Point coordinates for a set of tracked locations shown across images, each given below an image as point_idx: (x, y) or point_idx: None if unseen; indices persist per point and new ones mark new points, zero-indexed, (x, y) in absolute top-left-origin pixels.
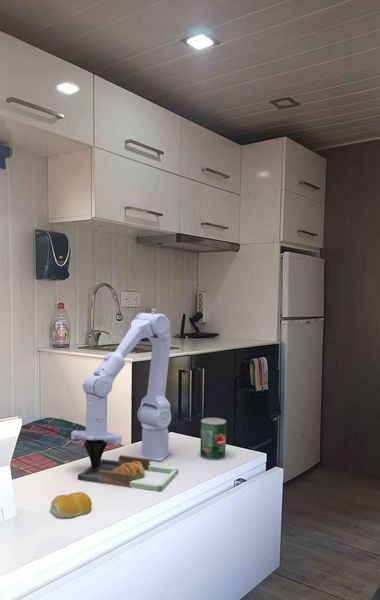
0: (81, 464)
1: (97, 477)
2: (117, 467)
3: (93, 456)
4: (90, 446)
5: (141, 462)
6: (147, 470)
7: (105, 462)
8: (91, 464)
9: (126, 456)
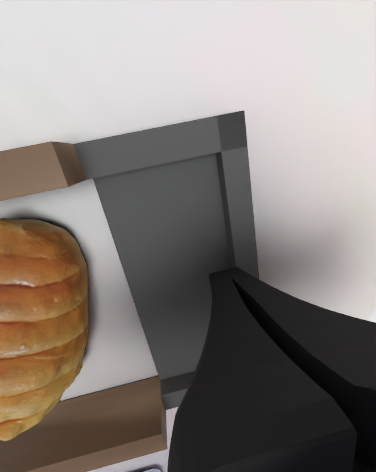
0: (335, 307)
1: (86, 150)
2: (157, 367)
3: (258, 317)
4: (347, 373)
5: (20, 451)
6: None
7: None
8: (245, 272)
9: (124, 455)
